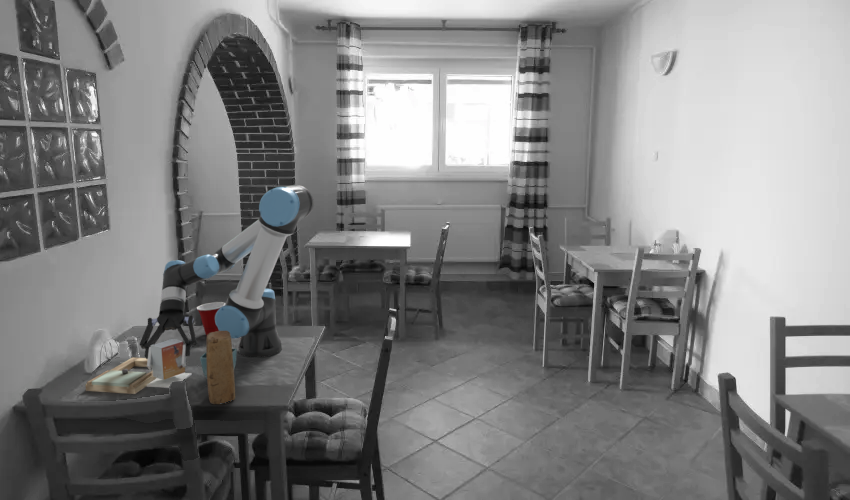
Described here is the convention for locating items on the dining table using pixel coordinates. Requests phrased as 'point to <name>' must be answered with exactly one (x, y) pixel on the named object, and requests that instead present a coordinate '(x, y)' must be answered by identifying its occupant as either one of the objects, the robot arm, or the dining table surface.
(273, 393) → the dining table surface
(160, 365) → the small box
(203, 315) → the plastic cup
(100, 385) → the puzzle board
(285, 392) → the dining table surface
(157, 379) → the white flat panel
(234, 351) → the flower pot
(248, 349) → the robot arm
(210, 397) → the block
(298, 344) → the dining table surface
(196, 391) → the dining table surface
